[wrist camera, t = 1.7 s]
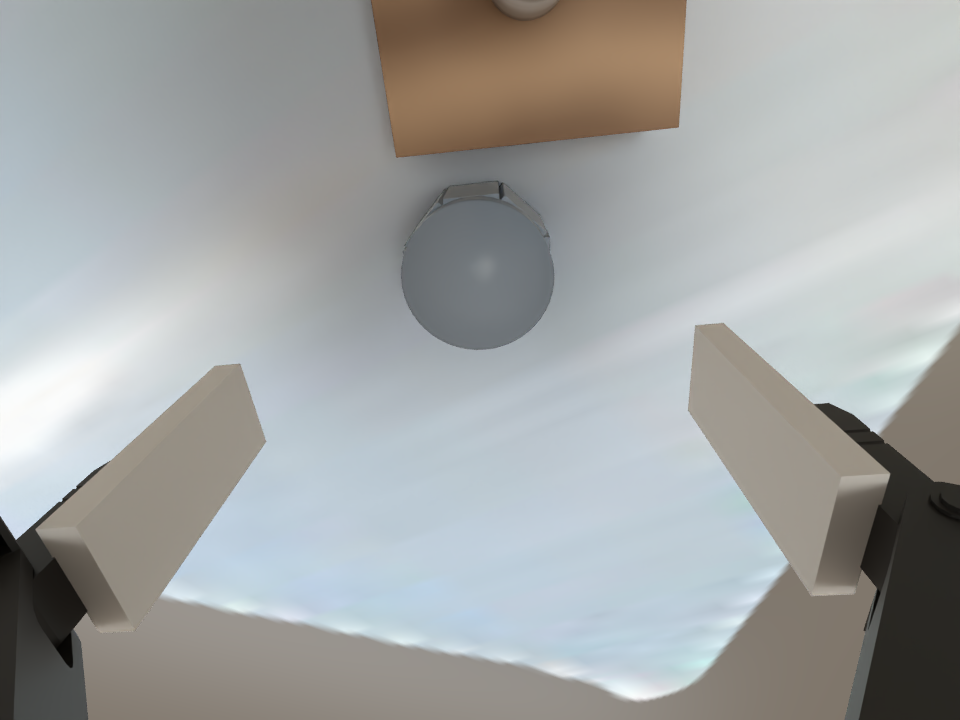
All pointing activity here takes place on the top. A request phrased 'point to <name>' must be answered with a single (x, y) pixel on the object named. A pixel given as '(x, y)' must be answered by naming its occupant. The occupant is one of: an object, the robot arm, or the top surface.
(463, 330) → the cap
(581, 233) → the top surface
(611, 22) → the block
